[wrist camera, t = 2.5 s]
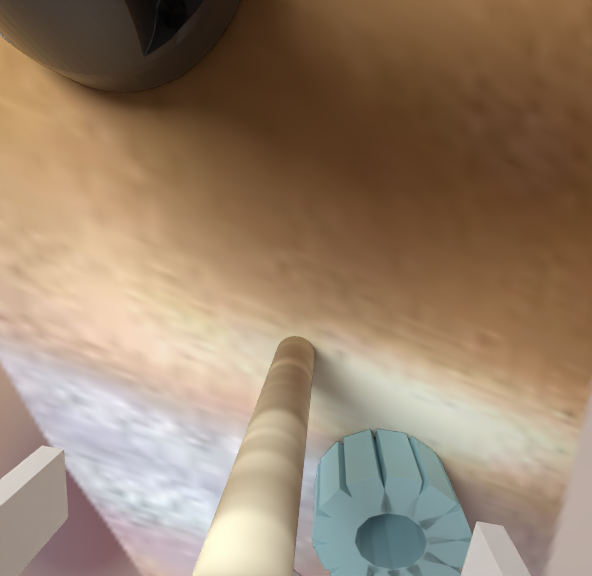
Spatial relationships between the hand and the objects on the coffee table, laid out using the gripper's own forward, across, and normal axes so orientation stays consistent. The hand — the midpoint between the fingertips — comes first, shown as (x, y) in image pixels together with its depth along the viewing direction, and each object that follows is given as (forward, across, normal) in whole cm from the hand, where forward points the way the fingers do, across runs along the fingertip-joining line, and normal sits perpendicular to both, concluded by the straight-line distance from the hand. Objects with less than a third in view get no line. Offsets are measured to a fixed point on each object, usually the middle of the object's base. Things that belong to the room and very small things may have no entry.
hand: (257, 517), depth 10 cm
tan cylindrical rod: (+11, 0, 0) cm, 11 cm away
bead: (+12, +7, -8) cm, 16 cm away
